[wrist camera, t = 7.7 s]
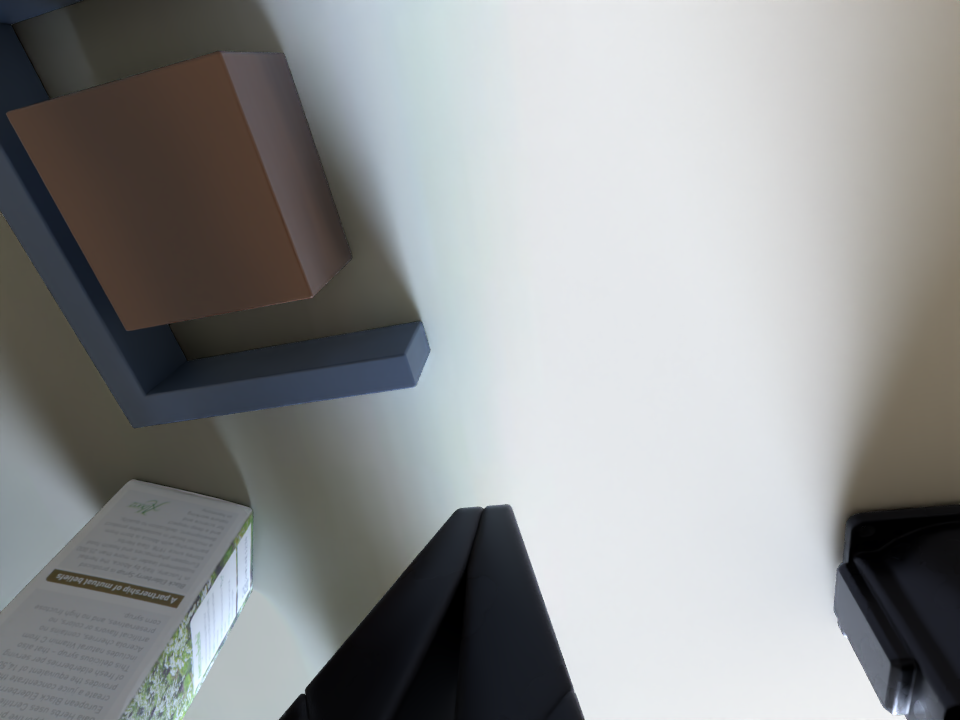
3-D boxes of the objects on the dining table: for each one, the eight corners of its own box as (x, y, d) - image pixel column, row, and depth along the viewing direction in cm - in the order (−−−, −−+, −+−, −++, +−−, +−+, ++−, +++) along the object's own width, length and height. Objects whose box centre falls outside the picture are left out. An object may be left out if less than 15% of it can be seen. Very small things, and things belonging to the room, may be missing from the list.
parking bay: (285, -134, 14) (234, -172, 11) (431, 351, 19) (416, 387, 17) (-47, -13, 16) (-145, -24, 13) (175, 391, 22) (132, 429, 19)
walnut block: (284, 52, 15) (218, 49, 12) (353, 258, 18) (313, 298, 15) (104, 102, 17) (2, 112, 14) (193, 289, 19) (125, 332, 16)
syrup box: (127, 473, 24) (-354, 944, 11) (261, 505, 24) (-67, 1011, 11) (139, 564, 27) (-234, 1022, 14) (259, 592, 27) (-5, 1076, 14)
